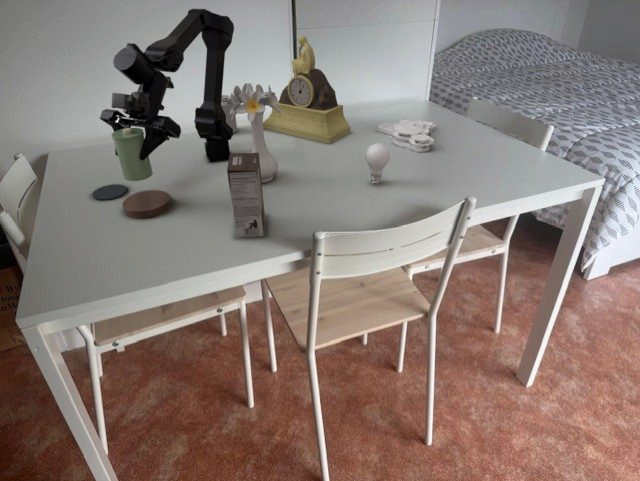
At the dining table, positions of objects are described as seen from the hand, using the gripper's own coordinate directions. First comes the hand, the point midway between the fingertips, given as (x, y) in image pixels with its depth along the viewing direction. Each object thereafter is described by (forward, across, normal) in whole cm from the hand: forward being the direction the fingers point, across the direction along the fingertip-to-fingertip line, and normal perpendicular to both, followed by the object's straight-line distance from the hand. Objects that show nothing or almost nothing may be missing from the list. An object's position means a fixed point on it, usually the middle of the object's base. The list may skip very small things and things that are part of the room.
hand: (129, 157), depth 102 cm
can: (-29, -10, +49) cm, 58 cm away
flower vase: (-8, +19, +28) cm, 35 cm away
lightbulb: (-14, +50, +33) cm, 61 cm away
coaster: (+6, -14, +12) cm, 20 cm away
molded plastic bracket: (-41, +50, +61) cm, 89 cm away
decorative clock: (-36, +16, +56) cm, 69 cm away
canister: (+2, 0, +4) cm, 5 cm away
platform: (+9, +1, +10) cm, 13 cm away
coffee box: (+8, +29, +11) cm, 32 cm away
